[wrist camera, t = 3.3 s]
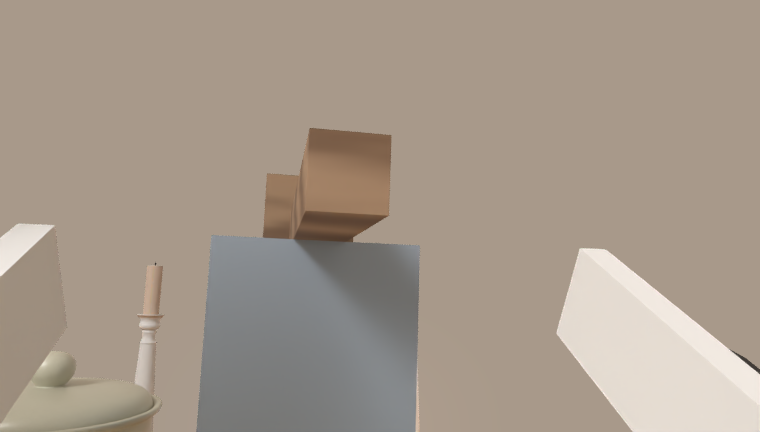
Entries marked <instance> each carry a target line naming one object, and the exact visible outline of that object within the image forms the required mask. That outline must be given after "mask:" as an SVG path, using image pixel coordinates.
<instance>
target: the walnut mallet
mask: <svg viewBox="0 0 760 432" xmlns="http://www.w3.org/2000/svg"><path fill="white" fill-rule="evenodd" d="M390 160H391V135H383V134H372V133H361V132H350V131H338V130H327V129H316V128H310V129H309V134H308V138H307V143H306V147H305V152H304V156H303V161H302V165H301V170H300V174H299V176H295V175H281V174H267V184H266V199H265V216H264V233H263V238H277V239H297V240H318V241H338V242H353V237H354V236H356V235H357V234H359V233H361V232H363V231H364V230H366V229H368V228H369V227H371V226H372V225H374V224H376V223H377V222H379V221H381V220H382V219H384V218H386V217H387V216H389V195H390V163H391V161H390Z"/></svg>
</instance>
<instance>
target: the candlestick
mask: <svg viewBox="0 0 760 432" xmlns="http://www.w3.org/2000/svg"><path fill="white" fill-rule="evenodd" d="M162 270H163V266H156V263H155V266H152V265H149V266H147V276H146V286H145V297H144V308H143V314H137V316H138V317H139V318H140V324H139V327H140V328H141V329H142V334H143V337H142V340H141V342H140V349H139V356H138V363H137V369H136V376H135V383H134V384H137V385H139V386H142V387H143V388H145V389H146V390H147V391H148V392H149V393H150V394H153V395H154V384H155V355H156V343H157V342H156V340H155V334H156V330H157V329H158V328H159V327H160V319H161V318H162V317H163V316H164V315H163V314H159V303H160V293H161V282H162ZM150 432H153V418H152V424H151V429H150Z"/></svg>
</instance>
